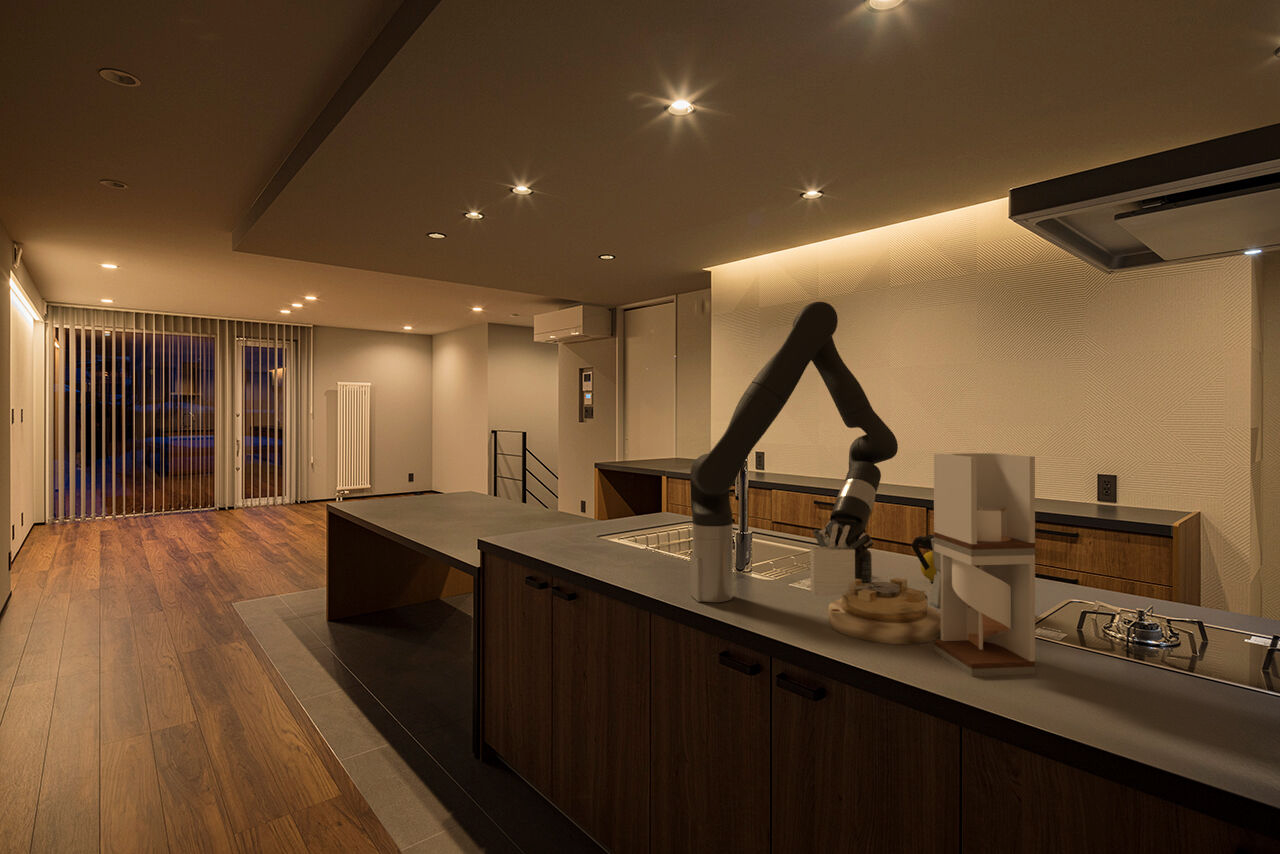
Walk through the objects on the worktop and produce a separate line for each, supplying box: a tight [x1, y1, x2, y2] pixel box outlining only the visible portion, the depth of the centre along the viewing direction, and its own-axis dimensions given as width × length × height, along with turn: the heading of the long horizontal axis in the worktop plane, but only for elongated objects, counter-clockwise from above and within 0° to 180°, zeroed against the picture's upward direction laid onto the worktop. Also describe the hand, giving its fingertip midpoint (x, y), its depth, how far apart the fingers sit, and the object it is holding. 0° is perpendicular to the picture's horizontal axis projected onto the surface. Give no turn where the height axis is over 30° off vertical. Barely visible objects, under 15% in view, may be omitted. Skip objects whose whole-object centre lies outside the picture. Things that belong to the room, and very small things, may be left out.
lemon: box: [920, 550, 937, 583], centre depth 164 cm, size 6×6×8 cm
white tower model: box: [933, 452, 1036, 677], centre depth 110 cm, size 11×11×35 cm
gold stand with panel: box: [809, 546, 928, 622], centre depth 130 cm, size 22×16×12 cm
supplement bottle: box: [855, 548, 873, 584], centre depth 160 cm, size 7×7×12 cm
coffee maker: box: [911, 534, 941, 609], centre depth 144 cm, size 15×9×18 cm, turn 47°
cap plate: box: [828, 598, 941, 645], centre depth 130 cm, size 21×21×3 cm
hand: (830, 572), depth 133 cm, fingers closed
